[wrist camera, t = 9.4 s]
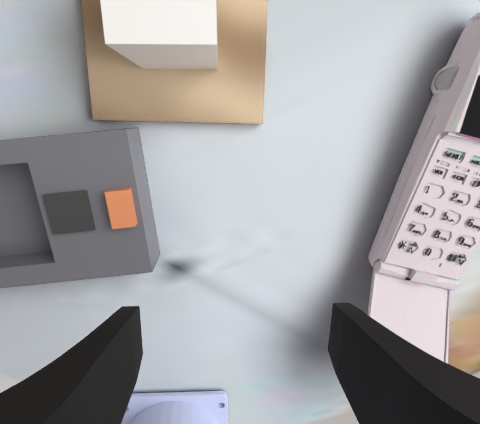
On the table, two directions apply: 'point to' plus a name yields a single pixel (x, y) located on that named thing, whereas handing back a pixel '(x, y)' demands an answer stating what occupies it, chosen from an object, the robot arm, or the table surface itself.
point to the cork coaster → (183, 73)
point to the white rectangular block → (163, 32)
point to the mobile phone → (433, 209)
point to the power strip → (75, 208)
